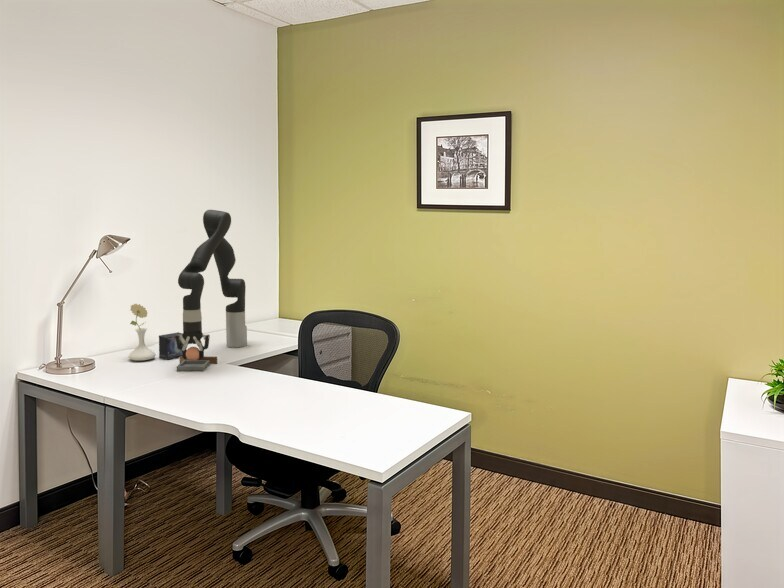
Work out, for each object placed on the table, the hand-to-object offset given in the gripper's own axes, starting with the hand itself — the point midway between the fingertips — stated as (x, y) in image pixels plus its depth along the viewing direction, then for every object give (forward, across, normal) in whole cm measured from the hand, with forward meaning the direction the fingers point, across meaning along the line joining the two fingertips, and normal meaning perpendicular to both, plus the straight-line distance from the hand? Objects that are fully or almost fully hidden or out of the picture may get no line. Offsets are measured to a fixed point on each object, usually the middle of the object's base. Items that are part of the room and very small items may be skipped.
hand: (193, 358), depth 271 cm
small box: (+4, -14, +20) cm, 25 cm away
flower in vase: (+4, -27, +16) cm, 32 cm away
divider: (+4, 0, +8) cm, 9 cm away
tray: (+4, 0, 0) cm, 4 cm away
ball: (+1, 0, 0) cm, 1 cm away
